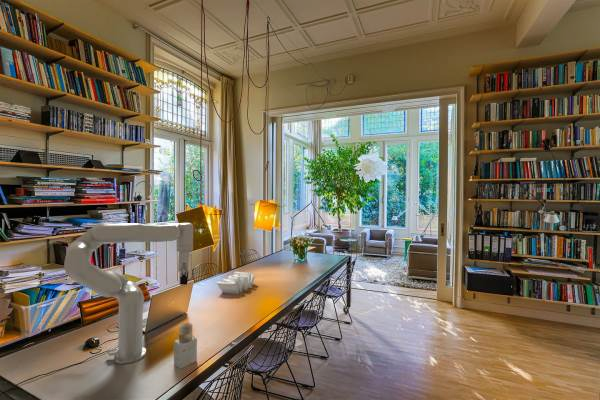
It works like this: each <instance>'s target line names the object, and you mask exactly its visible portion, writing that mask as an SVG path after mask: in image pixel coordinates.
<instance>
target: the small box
mask: <svg viewBox="0 0 600 400" xmlns="http://www.w3.org/2000/svg"><path fill="white" fill-rule="evenodd" d="M197 344H198V338H197V337H195V336H194V335H192V340H191V341H189V342H185V343H182V342H179V338H178V339H175V340H174V341H173V364H174V365H175V367H177V368H178V369H180V370H181V369H184V368H185V367H187V366H190V365H191V364H193V363H195V362H197V359H198V351H197V350H198V345H197Z"/></svg>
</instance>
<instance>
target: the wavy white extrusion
mask: <svg viewBox="0 0 600 400" xmlns="http://www.w3.org/2000/svg"><path fill="white" fill-rule="evenodd" d="M227 277H228V278H225V279H224V278H223V279H222V281H217V282H216V285H217V287H219V289H220V290H221V292H222V294H227V295H240V294H242V293H243V292H245V291H247V290H249V289H250V287H251V288H252V287H253V286H254V281H255V275H254V274H253V273H250V272H245V271H244V272H241V271H234V272H233V275H228V276H227Z"/></svg>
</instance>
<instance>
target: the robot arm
mask: <svg viewBox="0 0 600 400" xmlns="http://www.w3.org/2000/svg"><path fill="white" fill-rule="evenodd" d="M173 241H176V252H178V258H177V259H178V261H177V262H178V263H177V266H178V267H177V271H178V273H180V276H179V278H180V281H179V282H180V283H179V285H180V286H183V285H186V286H187V285H188V279H189V271H190V265H191V264H190V263H191V252H193V250H194V224H193V223H191V222H179V223H175V222H174V223H173V222H164V223H163V224H161V225H150V224H144V223H138V222H137V223H136V222H135V223H134V222H132V223H131V222H130V223H108V222H99V223H97V224H95V225H93V226H92V227H91V228H89V229H88V230H87V231H85V232H84V233H83V234H82V235H81V236H79V237H78V238H76V239H75V240H73V242H71V243H70V244H69V245H68V246H67V248H66V251H65V258H64V261H63V262H64V270H65V271H64V272H65V274H66V276H68V277H69V278H70V279H71V280H73V281H74V282H76V283H78V284H79V285H82V286H83V287H85V288H87V289H89V290H90V291H92V292H94V293H96V294H98V295H99V296H102V297H104V298H114V299H116V300H117V301H118V319H117V320H118V323H117V324H118V325H117V326H118V327H117V328H118V330H117V331H118V336H117V337H118V343H117V346H118V347H115V348H108V349H107V350H106V351H107V352H106V353H107V354H108V356H109V357H110V356H114V357H113V361H114V363H116V364H120V365H125V364H132V363H134V362H138V361H140V360H141V359H143V358H144V357H145V356H146V355H147V349H146V348H145V347H143V337H144V336H143V333H144V332H143V331H144V329H143V326H144V325H143V323H144V322H143V319H144V318H143V317H144V313H143V312H144V304H145V296H144V294H143V291H142V289H141V288H140V287H139V285H138V284H137V283H135V282H134V281H132V280H130V279H129V278H127V277H125V276H124V275H121V274H120V273H118V272H116V271H114V270H104V269H101V267H98V266H97V265H94V264H93V263H92V261H91V258H92V256H93V252H94V251H96V250H97V249H98V248H100V247H101V246H102V245H104V244H105V245H108V244H109V245H110V244H125V243H163V242H164V243H165V242H173Z"/></svg>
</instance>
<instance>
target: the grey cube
mask: <svg viewBox="0 0 600 400" xmlns="http://www.w3.org/2000/svg"><path fill="white" fill-rule="evenodd" d="M192 336H193V323H190V322H185V323H181V324H180V325H178V339H179V342H182V343H185V342H189V341H191V340H192Z"/></svg>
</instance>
